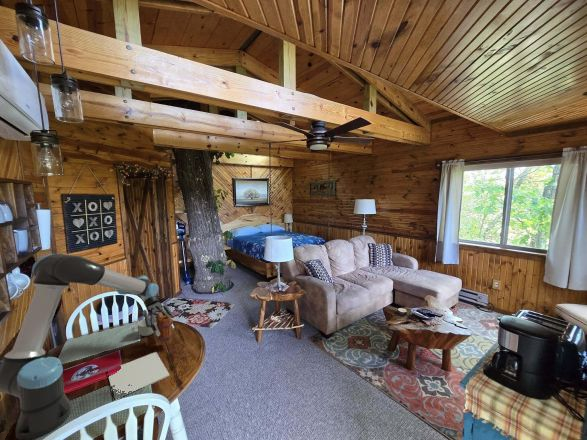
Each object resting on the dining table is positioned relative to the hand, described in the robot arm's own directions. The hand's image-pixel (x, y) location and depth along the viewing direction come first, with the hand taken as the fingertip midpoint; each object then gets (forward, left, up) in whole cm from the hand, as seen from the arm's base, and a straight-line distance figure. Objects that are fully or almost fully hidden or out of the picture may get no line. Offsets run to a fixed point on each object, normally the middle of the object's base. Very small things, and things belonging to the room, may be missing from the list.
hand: (166, 332), depth 140 cm
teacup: (-6, +23, -9) cm, 26 cm away
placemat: (-17, -14, -9) cm, 24 cm away
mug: (-1, +3, -6) cm, 7 cm away
